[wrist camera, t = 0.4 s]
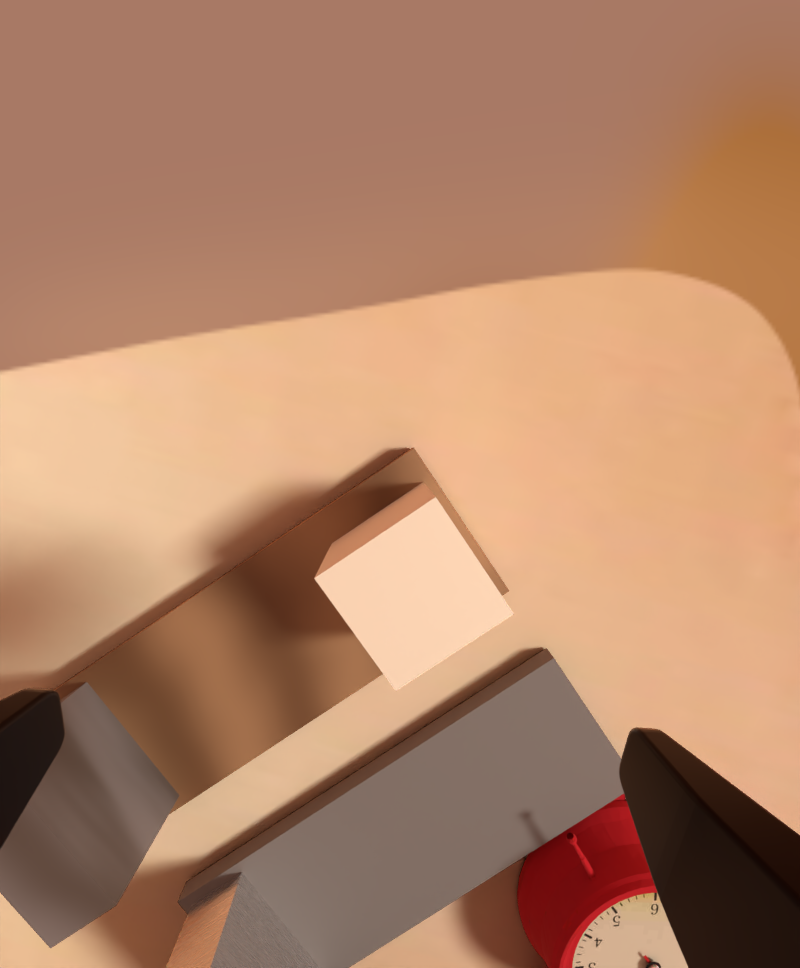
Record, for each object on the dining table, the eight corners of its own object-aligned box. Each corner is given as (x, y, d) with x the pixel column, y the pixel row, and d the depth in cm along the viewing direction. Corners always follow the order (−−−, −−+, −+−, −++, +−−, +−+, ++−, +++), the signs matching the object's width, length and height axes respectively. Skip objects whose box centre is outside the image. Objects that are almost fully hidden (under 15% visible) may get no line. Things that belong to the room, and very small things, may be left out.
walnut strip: (138, 823, 22) (48, 964, 16) (36, 701, 21) (-99, 803, 16) (503, 583, 22) (548, 639, 16) (412, 447, 21) (423, 452, 15)
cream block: (393, 630, 21) (395, 691, 16) (331, 543, 20) (314, 578, 15) (482, 571, 20) (514, 613, 16) (423, 482, 20) (435, 496, 15)
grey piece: (277, 991, 24) (241, 1178, 18) (186, 881, 23) (116, 1040, 17) (627, 769, 23) (712, 886, 17) (546, 648, 22) (605, 726, 16)
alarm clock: (770, 830, 20) (819, 1230, 18) (678, 760, 26) (708, 1052, 24) (539, 843, 20) (566, 1251, 18) (503, 769, 26) (520, 1066, 24)
